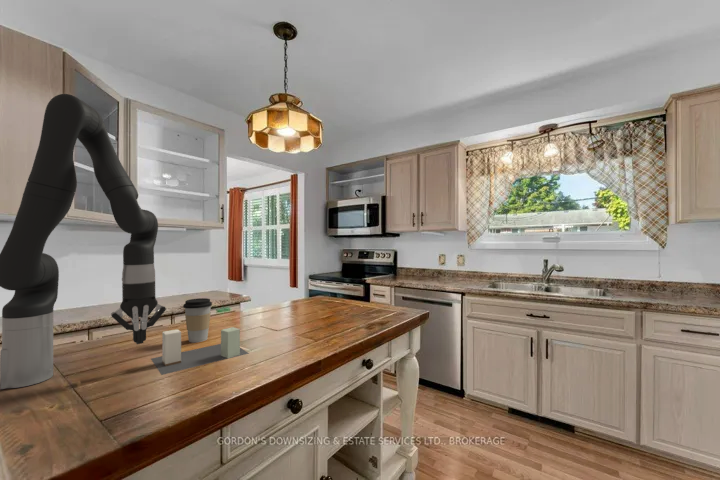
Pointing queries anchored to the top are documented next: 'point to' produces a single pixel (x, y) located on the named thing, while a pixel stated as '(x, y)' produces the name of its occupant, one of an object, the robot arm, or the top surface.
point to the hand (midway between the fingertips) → (139, 343)
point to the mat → (193, 359)
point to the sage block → (230, 342)
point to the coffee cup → (197, 318)
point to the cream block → (171, 347)
